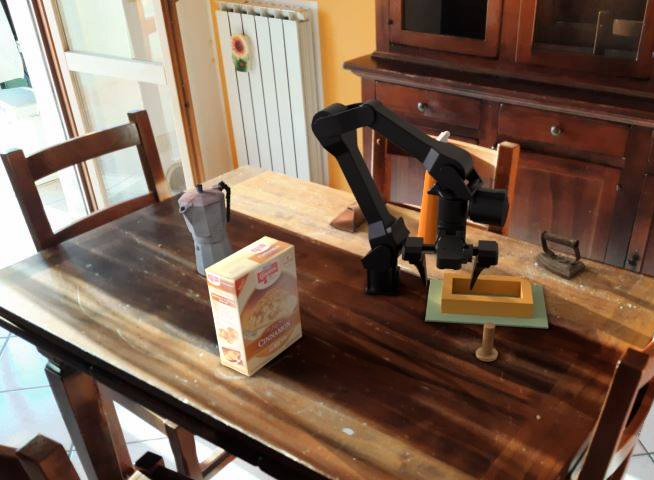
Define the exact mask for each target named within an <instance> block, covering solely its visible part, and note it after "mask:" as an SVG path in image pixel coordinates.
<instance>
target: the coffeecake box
mask: <svg viewBox="0 0 654 480" xmlns="http://www.w3.org/2000/svg"><path fill="white" fill-rule="evenodd" d="M205 272H206V276H205V277H206V284H207V287H208V288H207V289H208V293H209V299H210V304H211V310H212V316H213V322H214V327H215V334H216V339H217V344H218V350H219V356H220V361H221V365H223V366H225V367H227V368H230V369H232V370H235V371H236V372H238V373H240V374H242V375H245V376H247V377H252V376H253V375H254V374H256V373H257V372H258V371H259V370H260V369H262V368H263V367H264V366H266V365H267V364H268V363H270V362H271V361H272V360H274V359H275V358H276V357H277V356H279V355H280V354H281V353H283V352H284V351H285V350H286V349H288V348H289V347H290V346H292V345H293V344H294V343H295V342H297V341H298V340H300V339H301V338H302V337H303V331H302V320H301V311H300V298H299V286H298V275H297V263H296V254H295V245H293V244H291V243H289V242H285V241H282V240H278V239H276V238H272V237H269V236H267V235H264V236H263V237H261V238H260V239H258V240H256V241H254V242H252V243H251V244H249V245H246V246H245V247H243V248H242V249H240V250H237V251H235V252H234V254H232V255H231V256H229V257H227V258H225V259H223V260H221V261H220V262H218V263H216V264H214V265H212V266H211V267H209V268H207V269H205Z"/></svg>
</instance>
